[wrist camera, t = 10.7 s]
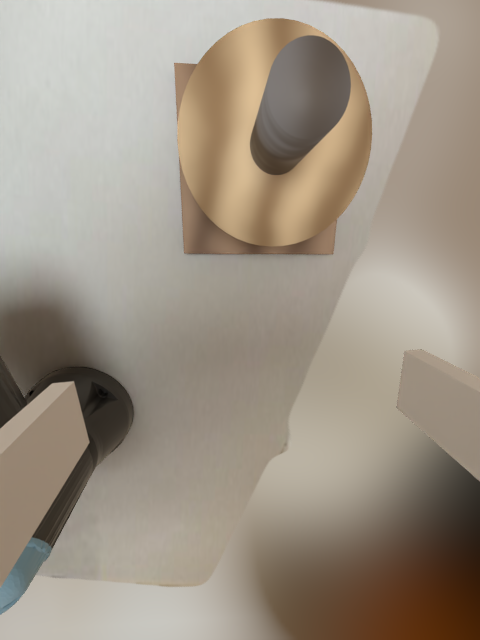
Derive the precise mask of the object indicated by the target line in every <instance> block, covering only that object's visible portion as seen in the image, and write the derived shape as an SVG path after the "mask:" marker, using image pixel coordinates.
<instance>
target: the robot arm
mask: <svg viewBox="0 0 480 640" xmlns="http://www.w3.org/2000/svg"><path fill="white" fill-rule="evenodd" d="M396 407H397V409H398V410H399V411H401V412H402V413H403V414H404V415H405V416H406V417H408V418H409V419H410V420H411V421H412V422H413V423H414V424H415V425H416V426H417V427H419V428H420V429H421V430H422V431H423V432H424V433H425V434H427V435H428V436H429V437H430V438H431V439H432V440H433V441H435V442H436V443H437V444H438V445H439V446H440V447H441V448H443V449H444V450H445V451H446V452H447V453H448V454H449V455H451V456H452V457H453V458H454V459H455V460H456V461H457V462H458V463H460V464H461V465H462V466H463V467H464V468H465V469H467V470H468V471H469V472H470V473H471V474H472V475H473V476H474V477H476V478H477V479H478V480H479V481H480V378H478V377H476V376H474V375H472V374H470V373H468V372H466V371H464V370H462V369H460V368H458V367H456V366H454V365H452V364H450V363H448V362H446V361H444V360H442V359H440V358H438V357H436V356H434V355H432V354H430V353H428V352H426V351H424V350H422V349H420V350H409V351H405V352H404V357H403V364H402V371H401V378H400V385H399V392H398V400H397V406H396ZM132 420H133V406H132V402H131V400H130V397H129V396H128V394H127V392H126V391H125V389H124V388H123V387H122V386H121V385H120V384H119V383H118V382H117V381H116V380H114V379H113V378H112V377H110V376H108V375H106V374H104V373H102V372H100V371H97V370H94V369H90V368H84V367H70V368H64V369H60V370H57V371H55V372H52V373H51V374H49V375H47V376H46V377H45V378H43V379H42V380H41V381H39V382H38V383H37V384H36V385H34V386H33V387H32V388H31V390H30V391H29V392H28V393H27V395H26V396H25V398H24V397H23V395H22V393H21V392H20V390H19V388H18V386H17V385H16V383H15V381H14V379H13V378H12V376H11V374H10V372H9V371H8V369H7V367H6V365H5V364H4V362H3V360H2V358H1V356H0V615H1V614H2V613H4V612H5V611H7V610H8V609H9V608H10V607H12V606H13V605H14V604H15V603H16V602H17V601H18V600H19V599H20V597H21V596H22V595H23V594H24V593H25V591H26V590H27V588H28V586H29V585H30V583H31V581H32V580H33V578H34V577H35V575H36V573H37V572H38V570H39V568H40V567H41V565H42V564H43V562H44V561H46V559H47V558H48V557H49V555H50V553H51V550H52V548H53V546H54V544H55V542H56V541H57V539H58V537H59V535H60V533H61V531H62V529H63V527H64V525H65V524H66V522H67V520H68V518H69V516H70V514H71V512H72V510H73V508H74V507H75V505H76V503H77V501H78V499H79V497H80V495H81V493H82V491H83V490H84V488H85V486H86V484H87V482H88V480H89V478H90V476H91V474H92V473H93V471H94V469H95V467H96V466H97V465H98V464H99V463H100V462H101V461H102V460H103V459H104V458H105V457H106V456H108V454H110V453H111V452H113V451H114V450H115V449H116V448H117V447H118V446H119V445H120V444H121V443H122V441H123V440H124V438H125V437H126V435H127V433H128V431H129V429H130V426H131V424H132Z"/></svg>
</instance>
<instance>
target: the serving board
mask: <svg viewBox="0 0 480 640" xmlns="http://www.w3.org/2000/svg"><path fill="white" fill-rule="evenodd" d="M196 66H197V64H185V63H174V67H175V86H176V105H177V124H178V118H179V110H180V106H181V102H182V98H183V94H184V91H185V89H186V86H187V84H188V81H189V79H190V77H191V75H192V73H193V71H194V69H195V68H196ZM179 163H180V182H181V202H182V221H183V240H184V253H195V254H333V251H334V242H335V233H336V223H337V219H336V220H335V221H334V222H333V223H332V224H331V225H330V226H328V227H327V228H326V229H324V230H323V231H321V232H320V233H318V234H317V235H315V236H313V237H311V238H309V239H307V240H304V241H301V242H299V243H296V244H291V245H286V246H273V247H272V246H259V245H255V244H250V243H247V242H244V241H241V240H239V239H236V238H235V237H233V236H231V235H229V234H227V233H226V232H224V231H223V230H222V229H220V228H219V227H218V226H217V225H216V224H214V223H213V222H212V221H211V220H210V219H209V218H208V217H207V215H206V214H205V213H204V212H203V211H202V209H201V208H200V206H199V205H198V203H197V202H196V200H195V199H194V197H193V195H192V193H191V191H190V189H189V187H188V185H187V182H186V179H185V176H184V173H183V171H182V166H181V162H180V158H179Z"/></svg>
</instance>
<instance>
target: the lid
mask: <svg viewBox="0 0 480 640" xmlns="http://www.w3.org/2000/svg"><path fill="white" fill-rule="evenodd" d="M371 140H372V119H371V112H370V105H369V101H368V97H367V93H366V90H365V87H364V85H363V82H362V80H361V77H360V75H359V73H358V71H357V70H356V68H355V66H354V64H353V63H352V61H351V60H350V59H349V57H348V56H347V54H346V53H345V52H344V51H343V50H342V49H341V48H340V47H339V45H338V44H337V43H336V42H335V41H333V40H332V39H331V38H330V37H328V36H327V35H326V34H324V33H323V32H321V31H319V30H318V29H316V28H314V27H312V26H310V25H307V24H304V23H301V22H299V21H295V20H289V19H283V18H282V19H263V20H258V21H253V22H250V23H248V24H245V25H242V26H240V27H238V28H236V29H234V30H233V31H231V32H229V33H227V34H226V35H225V36H223V37H222V38H221V39H220V40H218V41H217V42H216V43H215V44H214V45H213V46H212V47H211V48H210V49H209V50H208V51H207V52H206V53H205V55H204V56H203V57H202V59H201V60H200V62H199V63H198V64H197V66H196V68H195V69H194V71H193V73H192V75H191V77H190V79H189V81H188V84H187V86H186V89H185V91H184V94H183V98H182V102H181V106H180V110H179V118H178V139H177V141H178V150H179V158H180V162H181V166H182V171H183V173H184V176H185V179H186V182H187V185H188V187H189V189H190V191H191V193H192V195H193V197H194V199H195V200H196V202H197V203H198V205H199V206H200V208H201V209H202V211H203V212H204V213H205V214H206V215H207V217H208V218H209V219H210V220H211V221H212V222H213V223H214V224H216V225H217V226H218V227H219V228H220V229H222V230H223V231H224V232H226V233H227V234H229V235H231V236H233V237H235V238H236V239H239V240H241V241H244V242H247V243H250V244H255V245H259V246H272V247H273V246H286V245H291V244H296V243H299V242H301V241H304V240H307V239H309V238H311V237H313V236H315V235H317V234H318V233H320V232H321V231H323V230H324V229H326V228H327V227H328V226H330V225H331V224H332V223H333V222H334V221H335V220H336V219H337V218H338V217H339V216H340V215H341V214H342V213H343V212H344V211H345V209H346V208H347V207H348V205H349V204H350V202H351V201H352V200H353V198H354V196H355V194H356V193H357V191H358V189H359V187H360V184H361V182H362V180H363V177H364V175H365V171H366V168H367V165H368V161H369V156H370V150H371Z"/></svg>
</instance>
